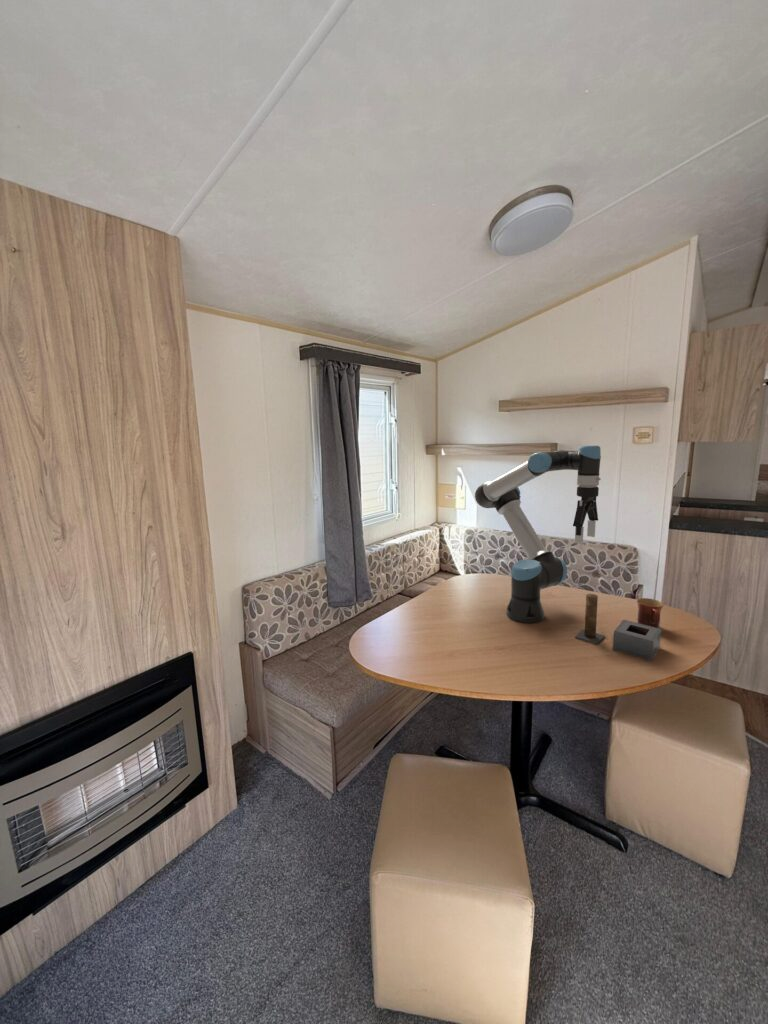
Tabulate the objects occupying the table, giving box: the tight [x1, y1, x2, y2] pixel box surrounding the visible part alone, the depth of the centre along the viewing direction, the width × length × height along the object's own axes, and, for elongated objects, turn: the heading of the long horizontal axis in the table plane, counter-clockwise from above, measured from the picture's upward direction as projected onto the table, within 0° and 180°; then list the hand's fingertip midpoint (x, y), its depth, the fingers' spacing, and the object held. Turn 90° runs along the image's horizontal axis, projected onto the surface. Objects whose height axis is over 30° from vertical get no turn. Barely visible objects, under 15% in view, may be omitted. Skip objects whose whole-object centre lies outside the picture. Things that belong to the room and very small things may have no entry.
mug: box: [636, 597, 664, 629], centre depth 160 cm, size 12×9×10 cm
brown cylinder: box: [584, 593, 599, 638], centre depth 154 cm, size 4×4×16 cm
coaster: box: [574, 628, 605, 646], centre depth 156 cm, size 8×8×1 cm
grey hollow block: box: [612, 619, 662, 662], centre depth 146 cm, size 12×12×7 cm
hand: (585, 539), depth 162 cm, fingers open, 13 cm apart
